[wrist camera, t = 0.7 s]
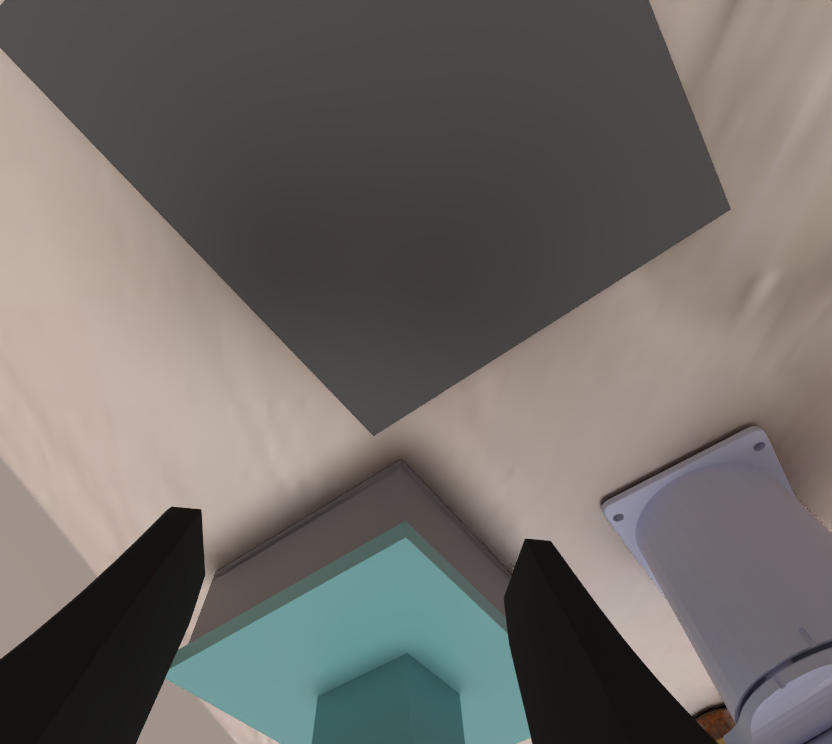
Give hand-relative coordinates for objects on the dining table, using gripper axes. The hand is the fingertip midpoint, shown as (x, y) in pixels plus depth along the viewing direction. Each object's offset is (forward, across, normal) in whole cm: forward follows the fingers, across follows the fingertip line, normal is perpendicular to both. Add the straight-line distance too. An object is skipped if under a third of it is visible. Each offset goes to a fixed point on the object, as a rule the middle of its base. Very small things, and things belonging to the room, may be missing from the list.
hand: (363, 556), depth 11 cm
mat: (+10, 0, -8) cm, 13 cm away
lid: (+6, -2, +14) cm, 16 cm away
